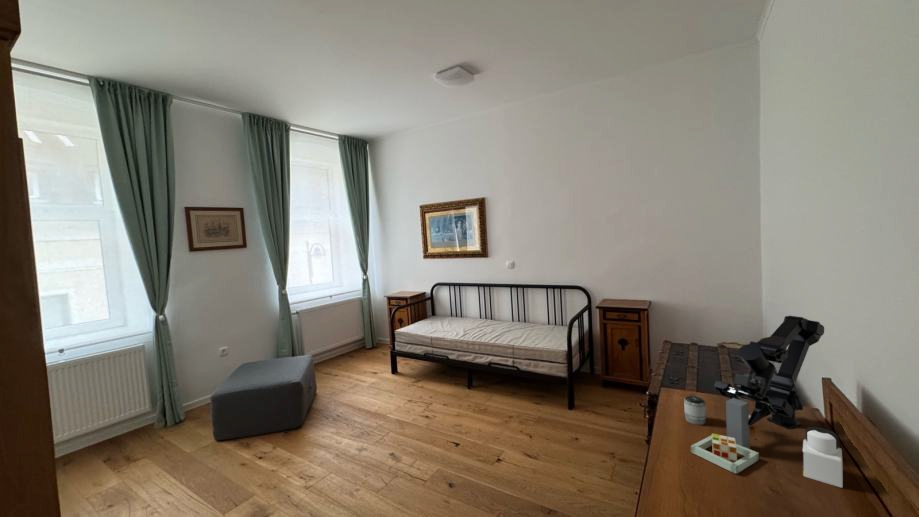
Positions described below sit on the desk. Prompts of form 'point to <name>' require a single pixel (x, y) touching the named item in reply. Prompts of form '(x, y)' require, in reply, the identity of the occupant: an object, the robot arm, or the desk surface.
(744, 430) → the grey block with frame
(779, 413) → the robot arm
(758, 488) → the desk surface
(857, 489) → the desk surface
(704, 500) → the desk surface
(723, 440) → the rubik's cube
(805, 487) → the desk surface
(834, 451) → the medicine bottle
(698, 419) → the camera lens
